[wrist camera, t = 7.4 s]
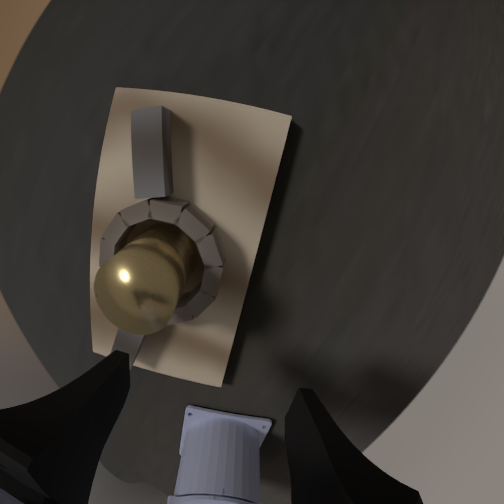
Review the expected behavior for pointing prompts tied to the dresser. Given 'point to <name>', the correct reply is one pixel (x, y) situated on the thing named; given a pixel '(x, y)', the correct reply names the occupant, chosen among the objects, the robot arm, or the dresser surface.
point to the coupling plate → (218, 186)
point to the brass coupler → (146, 279)
